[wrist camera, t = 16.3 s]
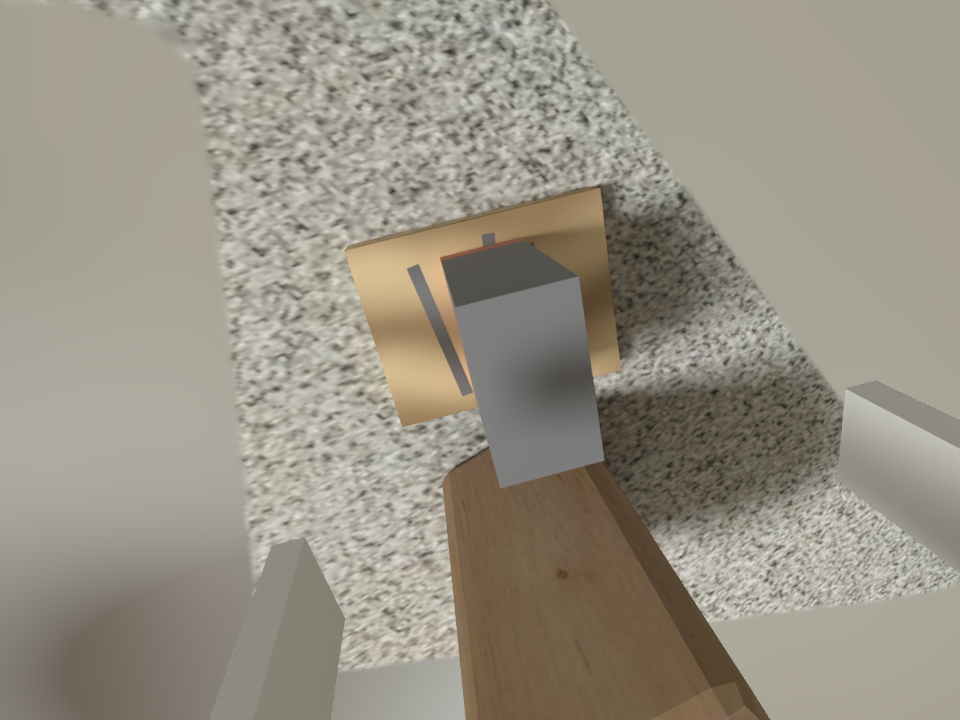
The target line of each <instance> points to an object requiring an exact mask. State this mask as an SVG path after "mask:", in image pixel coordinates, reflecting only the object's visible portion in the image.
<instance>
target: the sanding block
mask: <svg viewBox="0 0 960 720" xmlns="http://www.w3.org/2000/svg"><path fill="white" fill-rule="evenodd" d="M440 260H441V264H442V268H443V272H444V276H445V280H446V284H447V288H448V292H449V295H450V299H451V303H452V307H453V311H454V315H455V319H456V323H457V327H458V331H459V335H460V339H461V343H462V347H463V351H464V355H465V359H466V363H467V367H468V371H469V375H470V379H471V383H472V387H473V390H474V394H475V397H476V401H477V405H478V408H479V412H480V416H481V419H482V423H483V426H484V430H485V434H486V437H487V441H488V445H489V448H490V452H491V456H492V459H493V463H494V466H495V470H496V474H497V477H498V481H499V485H500V488H504V487H507V486H511V485H515V484H519V483H522V482H526V481H530V480H534V479H537V478H541V477H545V476H549V475H552V474H556V473H560V472H564V471H567V470H571V469H575V468H579V467H582V466H586V465H590V464H593V463H597V462H601V461H605V460H604V453H603V446H602V439H601V432H600V424H599V417H598V410H597V403H596V396H595V389H594V382H593V374H592V367H591V360H590V353H589V346H588V339H587V332H586V324H585V317H584V310H583V303H582V296H581V289H580V281H579V276H578V275H576V274H575V273H573V272H572V271H570V270H569V269H567V268H566V267H564V266H562V265H561V264H559V263H558V262H556V261H555V260H553V259H552V258H550V257H549V256H547V255H546V254H544V253H543V252H541V251H540V250H538V249H537V248H535V247H534V246H532V245H531V244H529V243H528V242H526V241H525V240H523V239H522V238H516V239H512V240H508V241H504V242H500V243H496V244H492V245H488V246H484V247H480V248H476V249H472V250H468V251H464V252H460V253H456V254H452V255H448V256H444V257H440Z"/></svg>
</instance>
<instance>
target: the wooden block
mask: <svg viewBox="0 0 960 720" xmlns="http://www.w3.org/2000/svg"><path fill="white" fill-rule="evenodd" d="M443 492H444V502H445V512H446V523H447V533H448V543H449V553H450V563H451V574H452V584H453V594H454V604H455V614H456V625H457V635H458V645H459V655H460V666H461V676H462V686H463V696H464V706H465V717H466V720H770V719H769V717H768V716H767V714H766V713H765V711H764V709H763V708H762V706H761V704H760V703H759V702H758V700H757V698H756V696H755V695H754V693H753V692H752V690H751V688H750V687H749V685H748V684H747V682H746V681H745V679H744V678H743V676H742V675H741V673H740V672H739V670H738V668H737V667H736V665H735V664H734V662H733V661H732V659H731V658H730V656H729V655H728V653H727V651H726V650H725V649H724V647H723V645H722V644H721V642H720V641H719V639H718V638H717V636H716V635H715V633H714V631H713V630H712V628H711V627H710V625H709V624H708V622H707V621H706V619H705V618H704V616H703V614H702V613H701V611H700V610H699V608H698V607H697V605H696V604H695V602H694V601H693V599H692V597H691V596H690V594H689V593H688V591H687V590H686V588H685V587H684V585H683V584H682V582H681V580H680V579H679V577H678V576H677V574H676V573H675V571H674V570H673V568H672V567H671V565H670V564H669V562H668V560H667V559H666V557H665V556H664V554H663V553H662V551H661V550H660V548H659V547H658V545H657V543H656V542H655V540H654V539H653V537H652V536H651V534H650V533H649V531H648V530H647V528H646V526H645V525H644V523H643V522H642V520H641V519H640V517H639V516H638V514H637V513H636V511H635V510H634V508H633V506H632V505H631V503H630V502H629V500H628V499H627V497H626V496H625V494H624V493H623V491H622V489H621V488H620V486H619V485H618V483H617V482H616V480H615V479H614V477H613V476H612V474H611V472H610V471H609V469H608V468H607V466H606V465H605V463H604V462H603V461H601V462H597V463H593V464H590V465H586V466H582V467H579V468H575V469H571V470H567V471H564V472H560V473H556V474H552V475H549V476H545V477H541V478H537V479H534V480H530V481H526V482H522V483H519V484H515V485H511V486H507V487H504V488H500V485H499V481H498V477H497V474H496V470H495V466H494V463H493V459H492V456H491V452H490V448H487V449H486V450H484V451H482V452H481V453H479V454H477V455H476V456H474V457H473V458H471V459H469V460H468V461H466V462H464V463H463V464H461V465H459V466H458V467H456V468H455V469H453V470H451V471H450V472H449V473H448V475H447V476H446V477H445V478H444V481H443Z"/></svg>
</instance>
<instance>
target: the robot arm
mask: <svg viewBox="0 0 960 720" xmlns="http://www.w3.org/2000/svg"><path fill="white" fill-rule="evenodd" d="M837 481H838V482H840V483H841V484H842V485H844V486H845V487H846V488H848V489H849V490H850V491H852V492H853V493H854V494H856V495H857V496H858V497H860V498H861V499H862V500H864V501H865V502H866V503H868V504H869V505H870V506H872V507H873V508H874V509H876V510H877V511H878V512H880V513H881V514H882V515H884V516H885V517H886V518H888V519H889V520H890V521H892V522H893V523H894V524H896V525H897V526H898V527H900V528H901V529H902V530H904V531H905V532H906V533H908V534H909V535H910V536H912V537H913V538H914V539H916V540H917V541H918V542H920V543H921V544H922V545H924V546H925V547H926V548H928V549H929V550H930V551H932V552H933V553H934V554H936V555H937V556H938V557H940V558H941V559H942V560H944V561H945V562H946V563H948V564H949V565H950V566H952V567H953V568H954V569H956V570H957V571H958V572H960V420H958V419H956V418H954V417H952V416H950V415H948V414H946V413H943V412H941V411H939V410H937V409H935V408H933V407H931V406H929V405H926V404H924V403H922V402H920V401H918V400H916V399H914V398H912V397H910V396H908V395H905V394H903V393H901V392H899V391H897V390H895V389H893V388H891V387H888V386H886V385H884V384H882V383H880V382H878V381H872V382H869V383H865V384H861V385H858V386H854V387H851V388H847V389H845V400H844V411H843V421H842V432H841V443H840V453H839V464H838V475H837ZM344 622H345V618H344V616H343V614H342V612H341V610H340V608H339V606H338V604H337V602H336V600H335V598H334V596H333V594H332V591H331V589H330V587H329V585H328V583H327V581H326V579H325V577H324V575H323V573H322V571H321V569H320V567H319V565H318V563H317V561H316V559H315V557H314V555H313V553H312V551H311V549H310V547H309V545H308V543H307V541H306V539H305V537H303V538H299V539H296V540H292V541H288V542H285V543H281V544H277V545H274V546H272V547H271V550H270V552H269V555H268V558H267V561H266V563H265V566H264V569H263V572H262V575H261V577H260V580H259V583H258V586H257V588H256V591H255V594H254V597H253V600H252V602H251V605H250V608H249V611H248V613H247V616H246V619H245V622H244V625H243V627H242V630H241V633H240V636H239V639H238V641H237V644H236V647H235V650H234V652H233V655H232V658H231V661H230V663H229V666H228V669H227V672H226V675H225V678H224V680H223V683H222V686H221V688H220V691H219V694H218V697H217V700H216V702H215V705H214V708H213V711H212V714H211V716H210V719H209V720H330V719H331V712H332V705H333V698H334V691H335V684H336V677H337V670H338V663H339V656H340V649H341V643H342V636H343V629H344Z"/></svg>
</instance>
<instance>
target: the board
mask: <svg viewBox="0 0 960 720" xmlns="http://www.w3.org/2000/svg"><path fill="white" fill-rule="evenodd" d="M516 238H522V239H523V240H525V241H526V242H528V243H529V244H531V245H532V246H534V247H535V248H537V249H538V250H540V251H541V252H543V253H544V254H546V255H547V256H549V257H550V258H552V259H553V260H555V261H556V262H558V263H559V264H561V265H562V266H564V267H566V268H567V269H569V270H570V271H572V272H573V273H575V274H576V275H578V276H579V281H580V289H581V296H582V303H583V310H584V317H585V324H586V332H587V339H588V346H589V353H590V360H591V367H592V374H593V377H597V376H601V375H604V374H608V373H612V372H616V371H620V370H621V366H620V357H619V348H618V340H617V331H616V322H615V313H614V304H613V296H612V287H611V278H610V269H609V260H608V251H607V243H606V234H605V225H604V216H603V207H602V199H601V190H600V188H596V187H588V188H584V189H580V190H576V191H572V192H568V193H563V194H559V195H555V196H551V197H547V198H543V199H539V200H535V201H531V202H527V203H523V204H519V205H515V206H510V207H506V208H502V209H498V210H494V211H490V212H486V213H482V214H478V215H474V216H470V217H466V218H461V219H457V220H453V221H449V222H445V223H441V224H437V225H433V226H429V227H425V228H421V229H417V230H412V231H408V232H404V233H400V234H396V235H392V236H388V237H384V238H380V239H376V240H372V241H368V242H363V243H359V244H355V245H351V246H348V247H347V248H346V249H345V254H346V257H347V260H348V263H349V266H350V269H351V272H352V275H353V278H354V281H355V284H356V287H357V290H358V293H359V296H360V299H361V302H362V306H363V309H364V312H365V315H366V318H367V321H368V324H369V327H370V330H371V333H372V336H373V339H374V342H375V345H376V348H377V351H378V354H379V357H380V360H381V363H382V366H383V369H384V372H385V375H386V378H387V381H388V384H389V387H390V390H391V393H392V396H393V400H394V403H395V406H396V409H397V412H398V415H399V418H400V421H401V424H402V427H405V426H409V425H412V424H416V423H420V422H424V421H428V420H432V419H435V418H439V417H443V416H447V415H451V414H455V413H458V412H462V411H466V410H470V409H474V408H478V405H477V401H476V397H475V394H474V390H473V387H472V383H471V379H470V375H469V371H468V367H467V363H466V359H465V355H464V351H463V347H462V343H461V339H460V335H459V331H458V327H457V323H456V319H455V315H454V311H453V307H452V303H451V299H450V295H449V292H448V288H447V284H446V280H445V276H444V272H443V268H442V264H441V260H440V257H444V256H448V255H452V254H456V253H460V252H464V251H468V250H472V249H476V248H480V247H484V246H488V245H492V244H496V243H500V242H504V241H508V240H512V239H516Z"/></svg>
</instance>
